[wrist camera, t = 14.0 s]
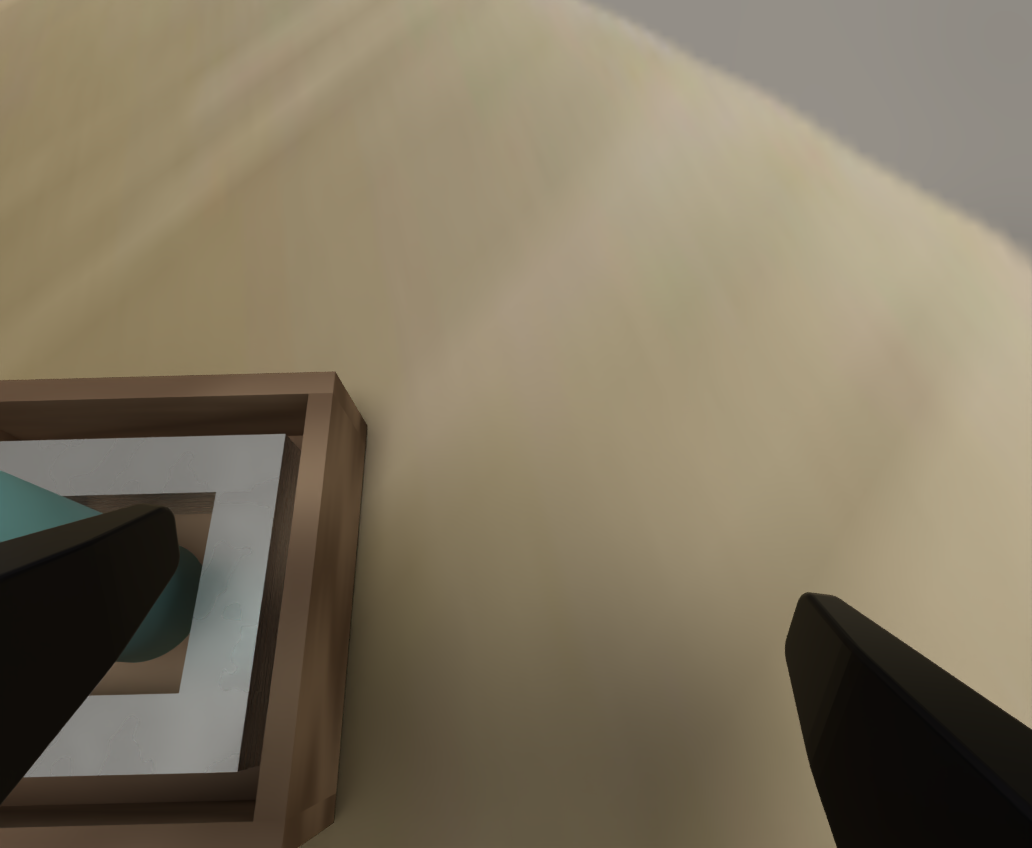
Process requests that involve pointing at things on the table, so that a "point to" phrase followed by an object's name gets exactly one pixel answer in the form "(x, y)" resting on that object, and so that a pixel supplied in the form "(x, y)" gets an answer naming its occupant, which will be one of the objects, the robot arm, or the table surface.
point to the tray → (300, 625)
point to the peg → (29, 508)
